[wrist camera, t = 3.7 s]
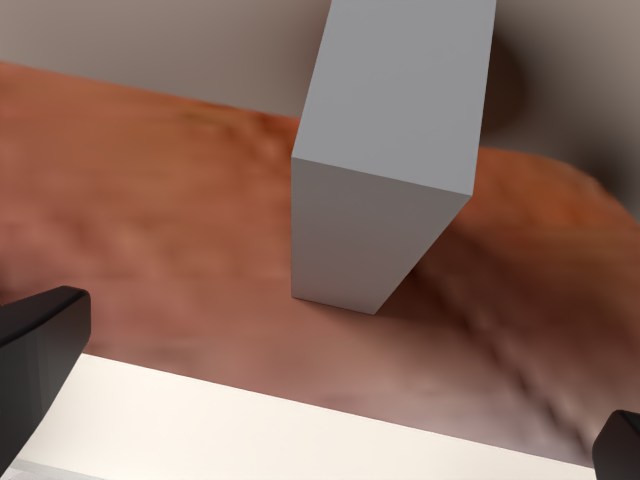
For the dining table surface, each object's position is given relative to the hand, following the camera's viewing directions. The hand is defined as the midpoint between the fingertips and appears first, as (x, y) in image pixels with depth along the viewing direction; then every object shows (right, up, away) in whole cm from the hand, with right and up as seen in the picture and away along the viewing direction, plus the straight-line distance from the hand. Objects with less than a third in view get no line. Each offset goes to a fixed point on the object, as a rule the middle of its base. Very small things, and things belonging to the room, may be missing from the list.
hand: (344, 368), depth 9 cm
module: (+1, +2, +14) cm, 14 cm away
